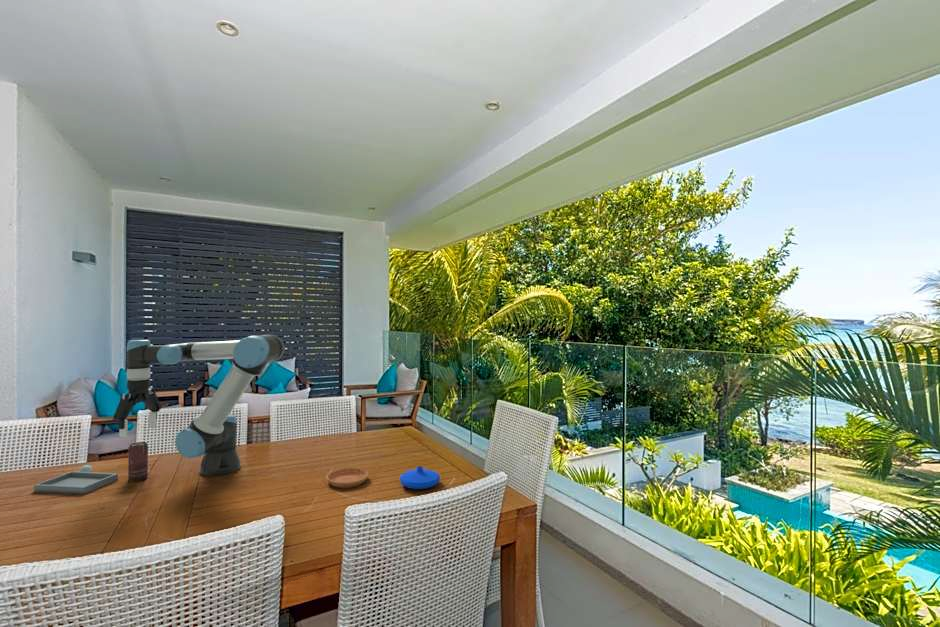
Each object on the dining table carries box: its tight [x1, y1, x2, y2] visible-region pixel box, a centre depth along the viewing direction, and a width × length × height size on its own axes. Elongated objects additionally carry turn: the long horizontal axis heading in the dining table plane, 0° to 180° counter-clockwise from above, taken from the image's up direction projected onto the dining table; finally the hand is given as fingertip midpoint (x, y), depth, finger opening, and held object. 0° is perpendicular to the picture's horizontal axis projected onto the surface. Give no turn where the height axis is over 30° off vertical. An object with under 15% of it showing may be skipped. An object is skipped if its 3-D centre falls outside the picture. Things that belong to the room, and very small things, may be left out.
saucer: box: [326, 467, 369, 489], centre depth 176 cm, size 16×16×3 cm
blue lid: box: [399, 465, 441, 490], centre depth 173 cm, size 16×16×7 cm
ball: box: [79, 464, 93, 472], centre depth 181 cm, size 4×4×4 cm
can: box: [127, 441, 149, 483], centre depth 176 cm, size 6×6×14 cm
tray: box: [33, 470, 119, 495], centre depth 169 cm, size 20×14×2 cm
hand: (138, 432), depth 176 cm, fingers open, 13 cm apart
